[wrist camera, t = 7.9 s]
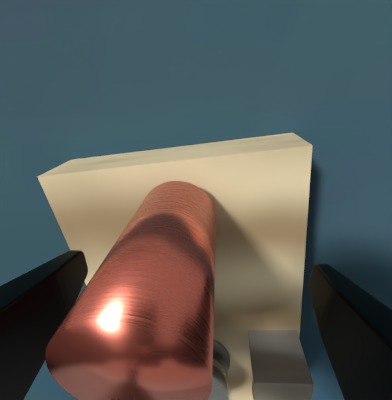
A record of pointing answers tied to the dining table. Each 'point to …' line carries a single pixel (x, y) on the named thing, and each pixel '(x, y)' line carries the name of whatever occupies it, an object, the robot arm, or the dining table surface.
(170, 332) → the lever
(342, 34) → the dining table surface
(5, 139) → the dining table surface
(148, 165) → the block
